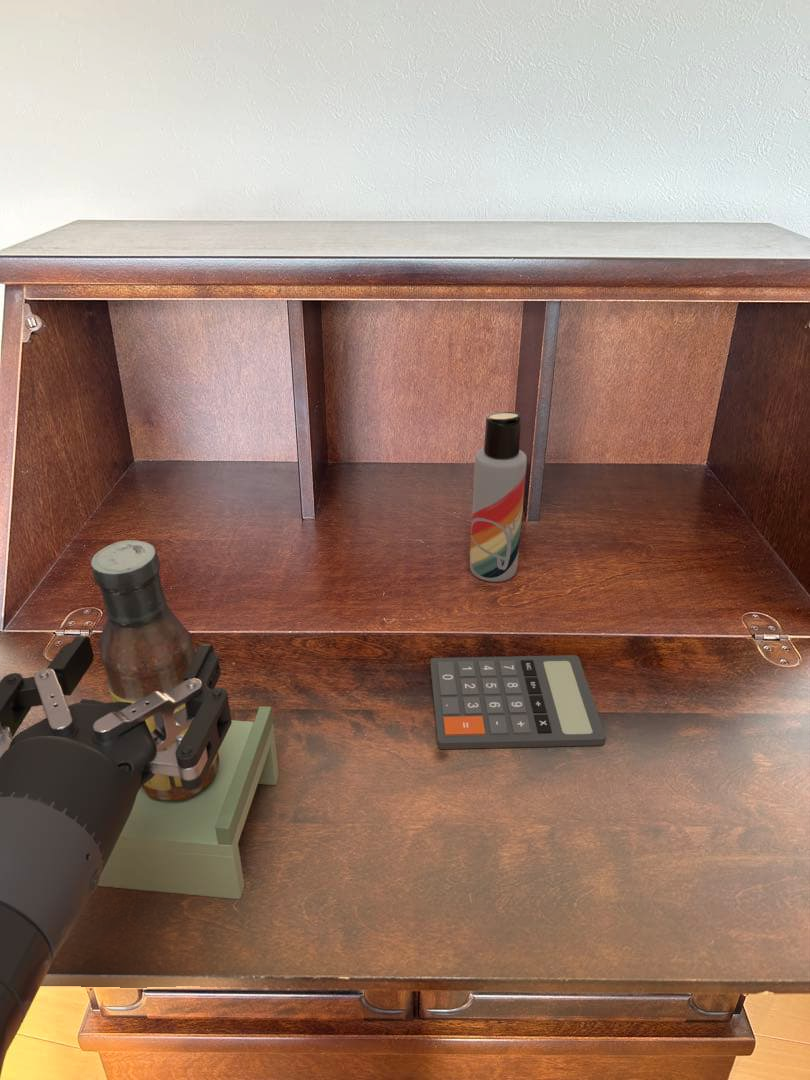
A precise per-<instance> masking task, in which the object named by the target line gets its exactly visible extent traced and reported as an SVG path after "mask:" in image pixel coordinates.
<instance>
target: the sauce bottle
mask: <svg viewBox="0 0 810 1080" xmlns="http://www.w3.org/2000/svg"><path fill="white" fill-rule="evenodd" d="M90 567H91V571H92V576H93V580H94V582H95V583H96V584H97V586H98V587H99V588H100V592H101V595H102V598H103V599H102V600H103V602H104V605H105V615H106V617H107V619H106V622H105V624H104V626H103V628H102V631H101V633H100V635H99V638H98V649H99V654H100V659H101V665H102V667H103V669H104V672H105V675H106V683H107V687H108V691H109V693H110V697H111V701H112V702H130V703H132V704H133V703H135V702H137V701H138V700H140V699H142V698H144V697H146V696H147V695H149V694H151V693H153V692H155V691H160V692H161V693H165V692H167V691H169V690H170V689H172V688H174V687H176V686H177V685H179V684H181V683H183V682H184V676H185V674H186V672H187V670H188V668H189V666H190V664H191V662H192V660H193V658H194V656H195V654H196V652H197V649H196V647H195V644H194V642H193V638H192V634H191V632H190V631H189V630H188V629H187V628H186V627H185V626H184V625H183V624H182V622H181V621H180V620H179V618H178V617H177V616H176V614H175V613H174V612H173V610H172V609H171V608H170V607H169V605H168V603H167V602H168V601H167V600H168V599H167V597H166V594H165V593H164V589H163V586H162V582H161V575H160V569H161V562H160V559H159V556H158V553H157V550H156V548H155V546H154V545H152V544H151V543H149V542H146V541H140V540H137V539H128V540H127V539H126V540H125V539H124V540H121V541H116V542H114V543H111V544H110V545H106V546H105V547H103V548H102V549H100V550H98V551H97V552H96V553H95V554H94V555H93V556H92V557H91V560H90ZM185 707H186V706H185V703H184V704H182V705H181V706H179V707H177V708H176V709H175V711H174V714H175V713H177V712H178V711H180V710H182V709H183V708H185ZM145 721H146V724H147V726H148V728H149V731H150V733H152V732H153V731H154V729H155V727H156V724H155V720H154V715H153V716H151V717H149V718H148V719H146V720H145ZM188 728H189V727H188ZM188 728H187V729H185V730H183V731H182V732H181V733H180V734H183V735H185V733H186V732H187V730H188ZM171 746H172V744H171V745H170V746H168V747H167V748H165V749H163V750H166V749H168V748H170V747H171ZM163 750H162V751H163ZM218 767H219V754H218V752H217V754H216V756H215V758H214V760H213V762H212V765H211V767H210V769H209V771H208V773H207V775H206V777H205V779H204V781H203V783H202V785H201V786H200V787H198V788H196V789H194V790H187V789H184V788H183V787H182V784H181V779H180V777H172V776H165V775H157V774H155V775H154V776H153V777H152V778H151V779H150V780H149V781H147V782H146V783H145V784H144V785H143V786H142V787H143V789H144V790H145V791H146V793H147V794H148V795H149V796H150V797H152V798H156V799H159V800H169V801H178V800H184V799H187V798H189V797H192V796H194V795H196V794H197V793H199V792H201V791H203V790H204V789H206V788H207V786H208V785H210V784H211V782H212V781H213V780H214V778H215V776H216V774H217V772H218Z"/></svg>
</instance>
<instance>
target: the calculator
mask: <svg viewBox="0 0 810 1080" xmlns="http://www.w3.org/2000/svg"><path fill="white" fill-rule="evenodd" d="M429 660H430V661H429V668H430V679H431V688H432V689H431V690H432V700H433V701H432V702H433V713H434V721H435V722H434V724H435V731H436V732H435V734H436V744H437V748H438V749H440V750H458V749H459V750H462V749H500V748H501V749H504V748H507V749H508V748H542V747H544V748H545V747H547V748H548V747H580V746H581V747H586V746H588V747H589V746H592V747H593V746H604V745H605V743H606V739H607V738H606V733H605V729H604V727H603V724H602V721H601V718H600V716H599V713H598V709H597V707H596V704H595V700H594V698H593V695H592V691H591V689H590V685H589V683H588V680H587V677H586V675H585V671H584V669H583V666H582V663H581V660H580V657H579V656H578V655H576V654H566V655H562V654H561V655H517V656H515V655H513V656H469V657H468V656H467V657H466V656H465V657H463V656H462V657H460V656H459V657H433V658H431V659H429Z"/></svg>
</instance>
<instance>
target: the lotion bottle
mask: <svg viewBox="0 0 810 1080" xmlns="http://www.w3.org/2000/svg"><path fill="white" fill-rule="evenodd" d="M522 419H523V418H522V415H521V414H520V413H519V412H516V411H501V412H495V413H490V414H487V415H486V416H485V429H484V441H483V442H484V443H483V447H482V448H480V449H479V450H477V452H476V453H475V457H474V458H475V459H474V470H473V471H474V473H473V490H472V492H473V493H472V511H471V529H470V545H469V546H470V547H469V548H470V549H469V570H470V572H471V574H472V575H473V576H474V577H475V578H477V579H479V580H481V581H484V582H488V583H502V582H506V581H509V580H511V579H512V578H514V576H515V575H516V574H517V569H518V564H519V563H518V562H519V553H520V542H521V531H522V519H523V509H524V508H523V507H524V499H525V487H526V478H527V477H526V476H527V465H528V464H527V463H528V459H527V458H528V457H527V455H526V453H525V452H524V451H523V450H521V449H520V447H521V435H522V433H521V432H522V422H523V421H522Z"/></svg>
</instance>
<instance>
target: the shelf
mask: <svg viewBox="0 0 810 1080" xmlns="http://www.w3.org/2000/svg"><path fill="white" fill-rule="evenodd" d="M231 721H232V723H231V726H230V728H229V730H228V732H227V734H226V736H225V738H224V740H223V742H222V744H221V746H220V748H219V750H218V754H219V767H218V772H217V774H216V776H215V778H214V780H213V781H212V782H211V784H210V785H208V786H207V788H206V789H204V790H203V791H201V792H199V793H197V794H196V795H194V796H192V797H189V798H187V799H184V800H178V801H169V800H159V799H156V798H152V797H150V796H149V795H148V794H147V793H146V791H145V790H144V789H143V787H141V788H140V790H139V791H138V794H137V797H136V800H135V803H134V806H133V809H132V811H131V814H130V816H129V818H128V820H127V822H126V824H125V826H124V828H123V830H122V832H121V834H120V836H119V838H118V840H117V842H116V844H115V847H114V849H113V851H112V853H111V855H110V857H109V859H108V861H107V863H106V865H105V867H104V869H103V871H102V873H101V875H100V879H99V882H98V885H97V887H105V888H114V889H115V888H116V889H126V890H137V891H145V892H146V891H147V892H148V891H149V892H158V893H169V894H179V895H190V896H199V897H211V898H221V899H222V898H223V899H230V900H231V899H233V900H241V899H242V896H243V893H244V890H245V887H246V886H245V885H246V884H245V880H244V879H245V878H244V873H243V872H244V871H243V866H242V861H241V853H240V847H239V841H240V838H241V835H242V832H243V830H244V826H245V824H246V821H247V818H248V814H249V811H250V808H251V806H252V802H253V800H254V796H255V793H256V790H257V788H258V785H267V786H276V785H277V783H278V779H279V776H280V772H279V763H278V753H277V746H276V745H277V744H276V735H275V727H274V719H273V710H272V707H271V706H259V707H258V709H257V712H256V715H255V718H254V721H245V720H234V719H231Z"/></svg>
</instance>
